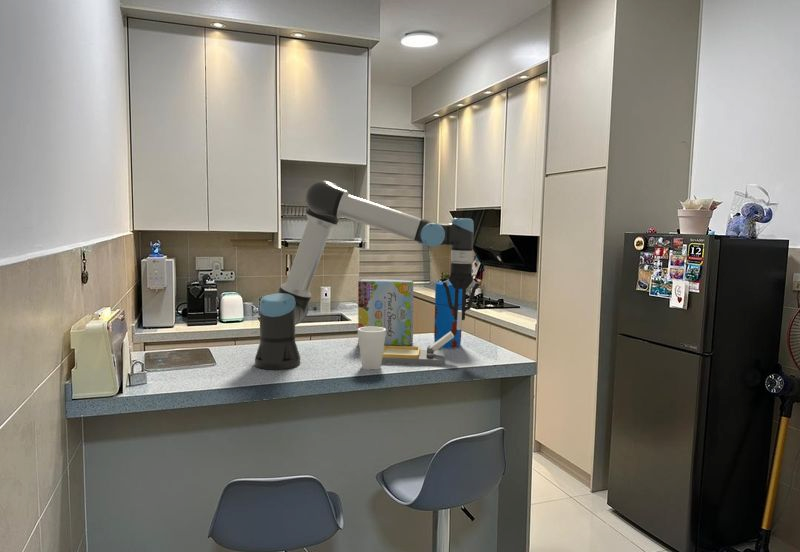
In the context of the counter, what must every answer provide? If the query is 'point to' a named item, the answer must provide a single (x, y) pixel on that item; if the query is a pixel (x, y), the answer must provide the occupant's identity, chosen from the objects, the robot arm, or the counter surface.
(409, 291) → the snack box
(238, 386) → the counter surface
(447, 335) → the lever
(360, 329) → the foam cup
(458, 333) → the thermos
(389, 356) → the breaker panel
